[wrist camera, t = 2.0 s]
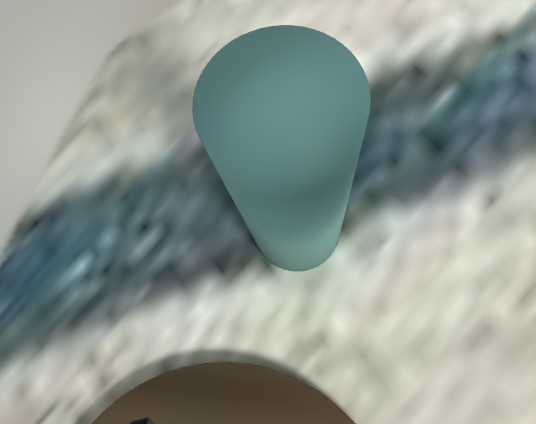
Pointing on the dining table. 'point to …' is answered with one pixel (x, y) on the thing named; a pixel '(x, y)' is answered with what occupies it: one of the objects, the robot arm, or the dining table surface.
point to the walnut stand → (224, 398)
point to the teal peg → (285, 136)
